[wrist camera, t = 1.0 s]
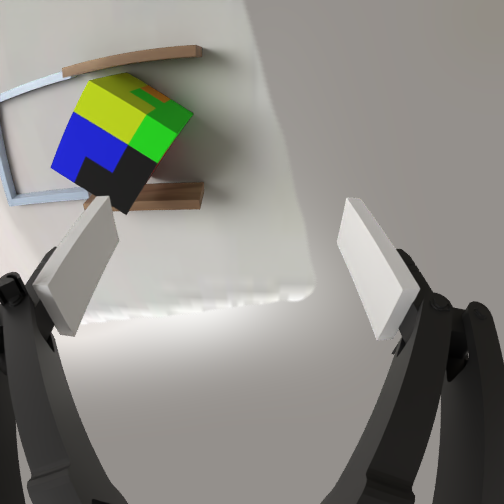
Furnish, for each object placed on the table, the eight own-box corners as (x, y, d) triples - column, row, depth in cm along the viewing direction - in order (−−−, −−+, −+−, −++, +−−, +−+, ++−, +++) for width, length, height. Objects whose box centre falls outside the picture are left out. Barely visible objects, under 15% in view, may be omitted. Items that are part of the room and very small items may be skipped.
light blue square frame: (-8, 98, 25) (-15, 100, 24) (76, 68, 26) (70, 69, 25) (14, 201, 36) (9, 206, 35) (93, 193, 37) (89, 198, 35)
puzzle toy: (90, 138, 32) (50, 167, 24) (126, 72, 28) (88, 80, 20) (150, 176, 36) (126, 214, 28) (193, 113, 32) (177, 134, 24)
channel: (82, 64, 26) (62, 68, 22) (201, 47, 27) (195, 44, 23) (99, 194, 37) (85, 212, 33) (204, 190, 38) (199, 209, 34)
